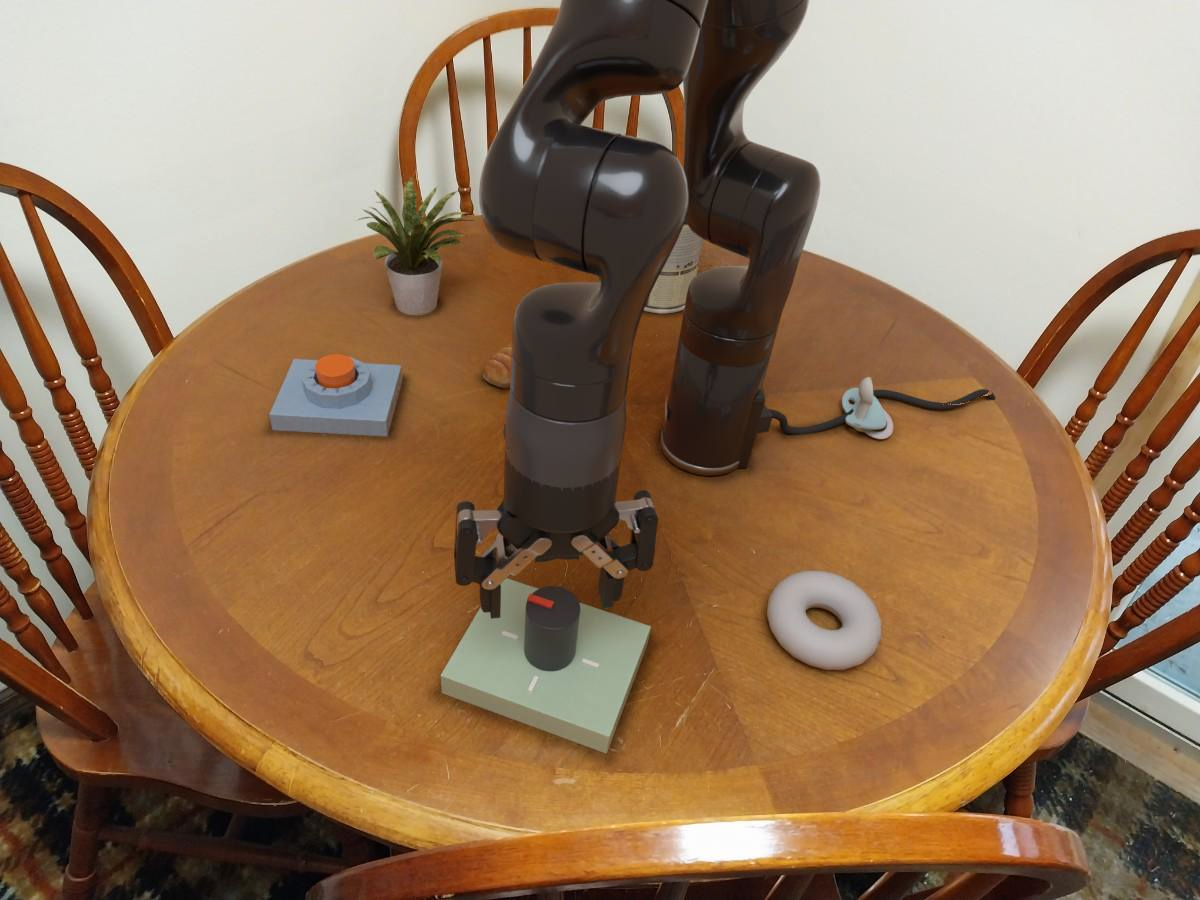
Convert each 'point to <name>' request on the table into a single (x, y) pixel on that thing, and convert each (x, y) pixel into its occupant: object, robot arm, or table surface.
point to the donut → (814, 641)
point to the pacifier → (866, 411)
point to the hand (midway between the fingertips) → (550, 604)
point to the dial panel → (549, 698)
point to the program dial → (551, 628)
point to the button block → (338, 401)
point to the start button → (335, 371)
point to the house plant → (414, 250)
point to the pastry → (499, 368)
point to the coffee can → (676, 275)
